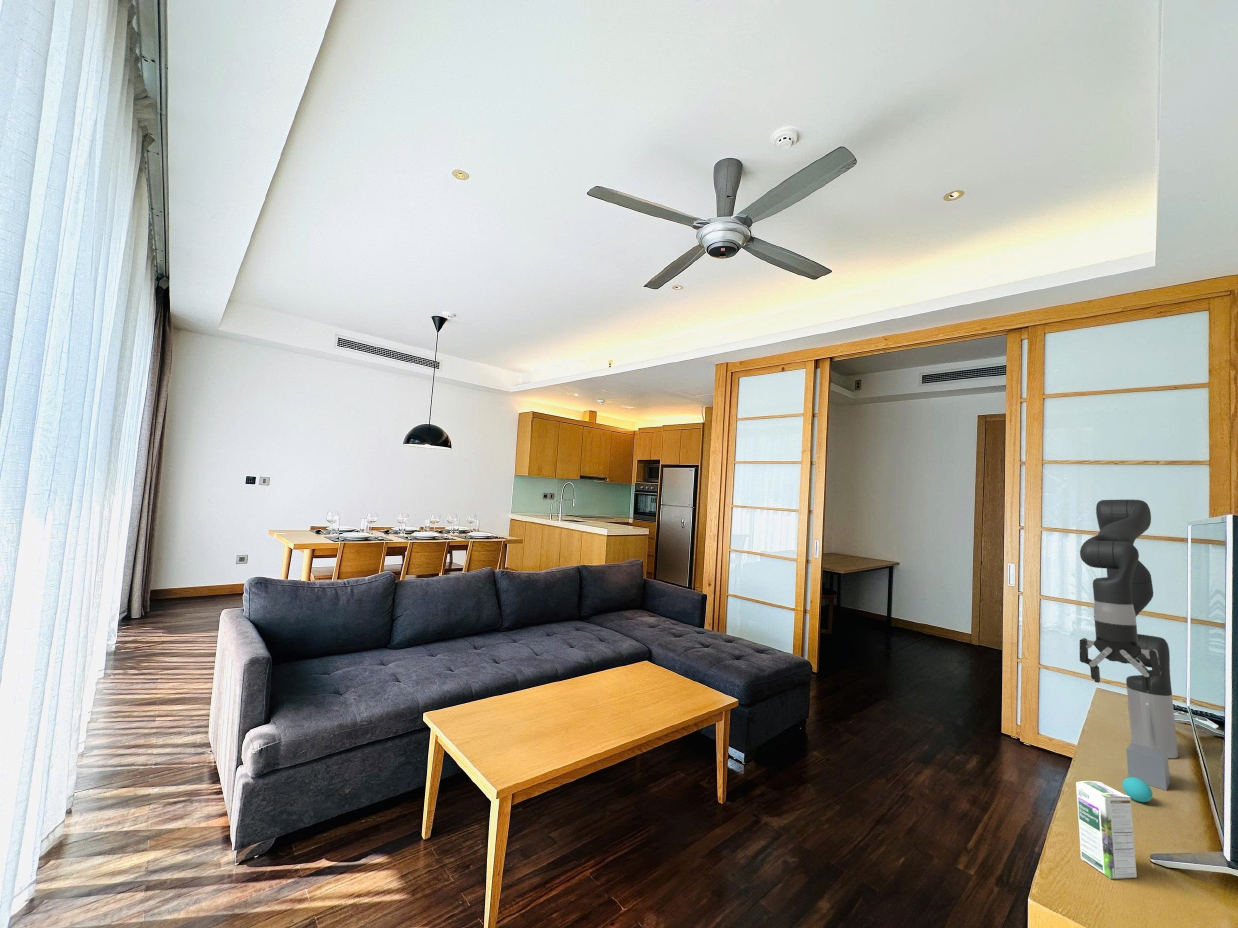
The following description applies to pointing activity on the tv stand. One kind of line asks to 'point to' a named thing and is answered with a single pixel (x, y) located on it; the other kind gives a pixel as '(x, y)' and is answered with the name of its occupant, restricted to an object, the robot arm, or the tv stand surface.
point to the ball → (1137, 789)
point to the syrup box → (1106, 829)
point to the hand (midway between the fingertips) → (1120, 686)
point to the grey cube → (1148, 765)
